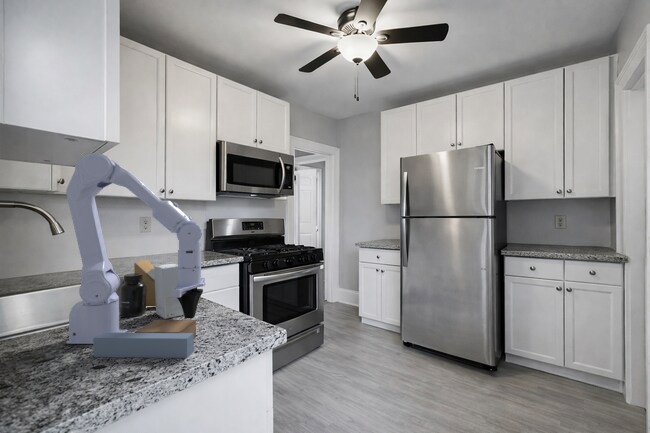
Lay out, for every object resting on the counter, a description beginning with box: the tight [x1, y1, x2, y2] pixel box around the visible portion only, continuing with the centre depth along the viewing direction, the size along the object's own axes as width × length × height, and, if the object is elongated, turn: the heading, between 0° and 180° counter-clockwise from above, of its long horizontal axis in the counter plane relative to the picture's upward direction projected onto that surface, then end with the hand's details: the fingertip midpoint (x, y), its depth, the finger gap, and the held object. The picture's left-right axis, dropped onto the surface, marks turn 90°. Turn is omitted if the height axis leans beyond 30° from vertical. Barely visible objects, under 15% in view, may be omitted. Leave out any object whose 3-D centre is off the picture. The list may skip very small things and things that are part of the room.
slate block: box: [92, 332, 195, 359], centre depth 66 cm, size 20×3×4 cm, turn 88°
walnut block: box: [134, 319, 197, 339], centre depth 72 cm, size 10×8×4 cm
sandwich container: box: [133, 258, 156, 306], centre depth 105 cm, size 9×15×15 cm, turn 98°
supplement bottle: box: [119, 273, 147, 318], centre depth 94 cm, size 7×7×12 cm
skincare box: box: [153, 263, 184, 320], centre depth 93 cm, size 8×6×15 cm
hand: (189, 317), depth 83 cm, fingers closed
